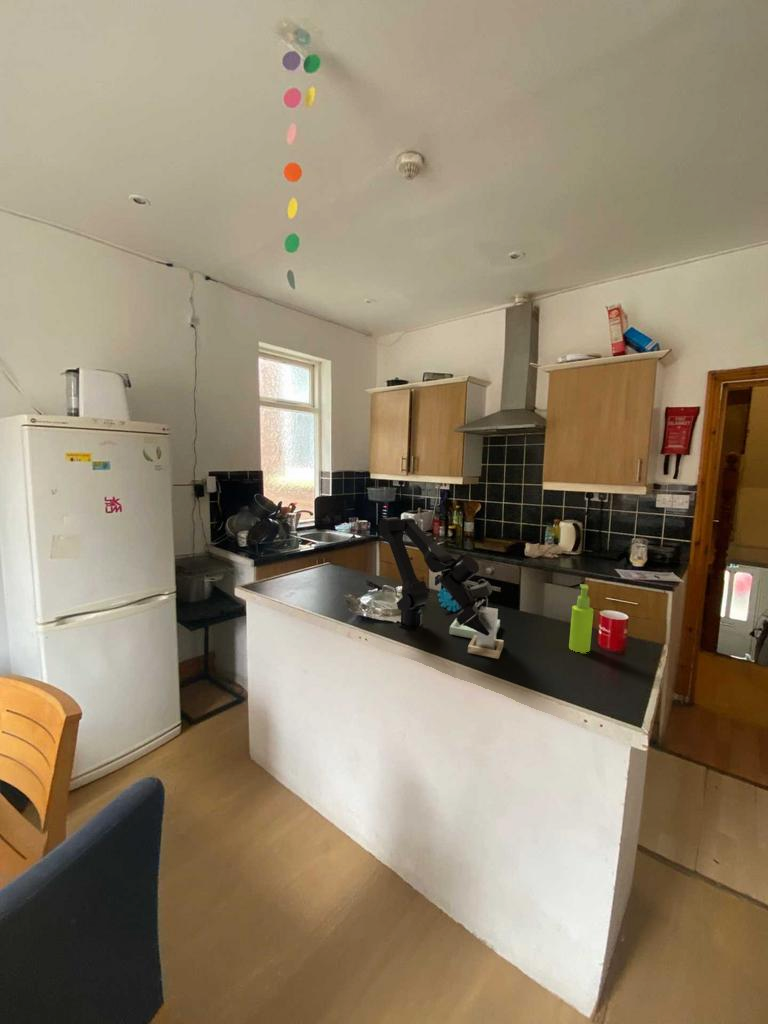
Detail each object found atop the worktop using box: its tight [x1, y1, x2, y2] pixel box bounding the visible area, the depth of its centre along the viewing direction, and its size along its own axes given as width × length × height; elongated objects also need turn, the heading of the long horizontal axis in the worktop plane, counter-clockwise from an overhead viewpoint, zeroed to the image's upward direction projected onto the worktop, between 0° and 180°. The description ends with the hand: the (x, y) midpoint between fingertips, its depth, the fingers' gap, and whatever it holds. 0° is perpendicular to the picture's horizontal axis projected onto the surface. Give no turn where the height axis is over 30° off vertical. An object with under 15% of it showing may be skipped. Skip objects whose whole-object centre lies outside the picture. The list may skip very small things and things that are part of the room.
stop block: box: [475, 606, 499, 650], centre depth 128 cm, size 5×5×12 cm
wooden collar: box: [467, 635, 504, 660], centre depth 129 cm, size 9×9×2 cm
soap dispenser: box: [568, 583, 594, 654], centre depth 130 cm, size 6×7×20 cm
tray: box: [449, 618, 501, 639], centre depth 143 cm, size 14×14×2 cm
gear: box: [437, 587, 461, 613], centre depth 164 cm, size 11×6×10 cm
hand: (491, 629), depth 128 cm, fingers open, 9 cm apart
